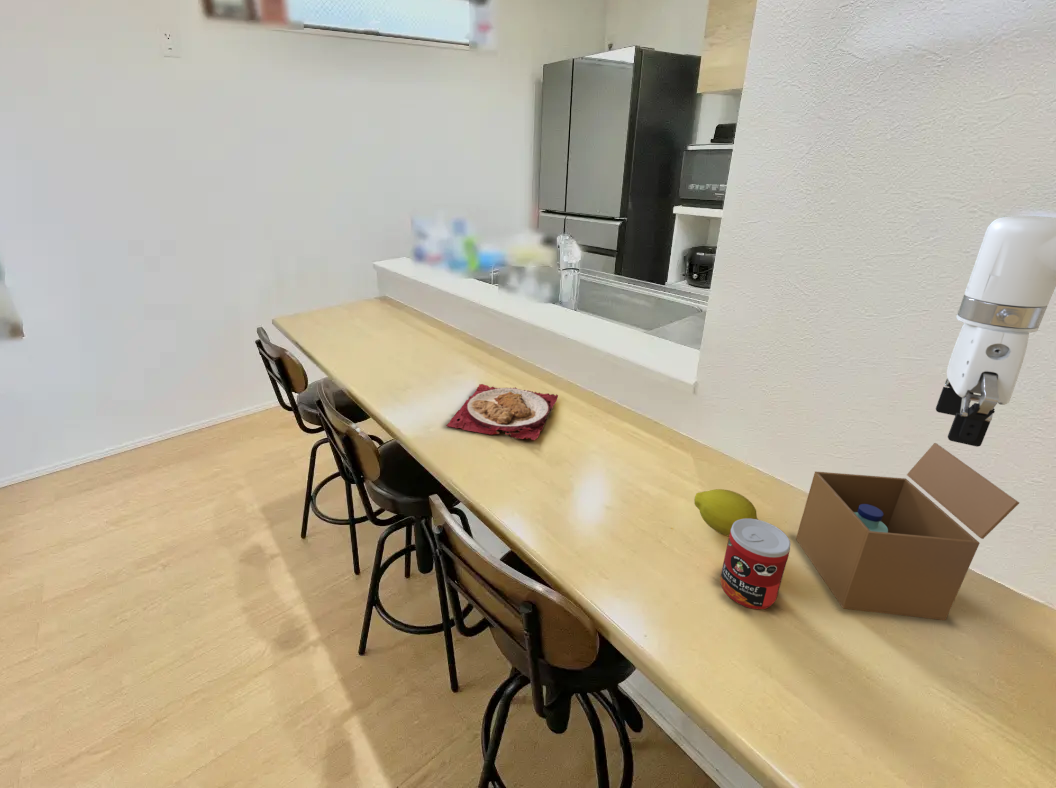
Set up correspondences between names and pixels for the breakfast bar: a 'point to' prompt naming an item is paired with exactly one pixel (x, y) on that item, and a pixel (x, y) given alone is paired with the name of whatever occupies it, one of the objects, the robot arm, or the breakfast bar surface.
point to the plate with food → (505, 412)
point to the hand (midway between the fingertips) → (956, 427)
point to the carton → (884, 546)
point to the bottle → (871, 518)
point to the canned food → (754, 563)
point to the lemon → (723, 509)
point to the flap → (962, 490)
